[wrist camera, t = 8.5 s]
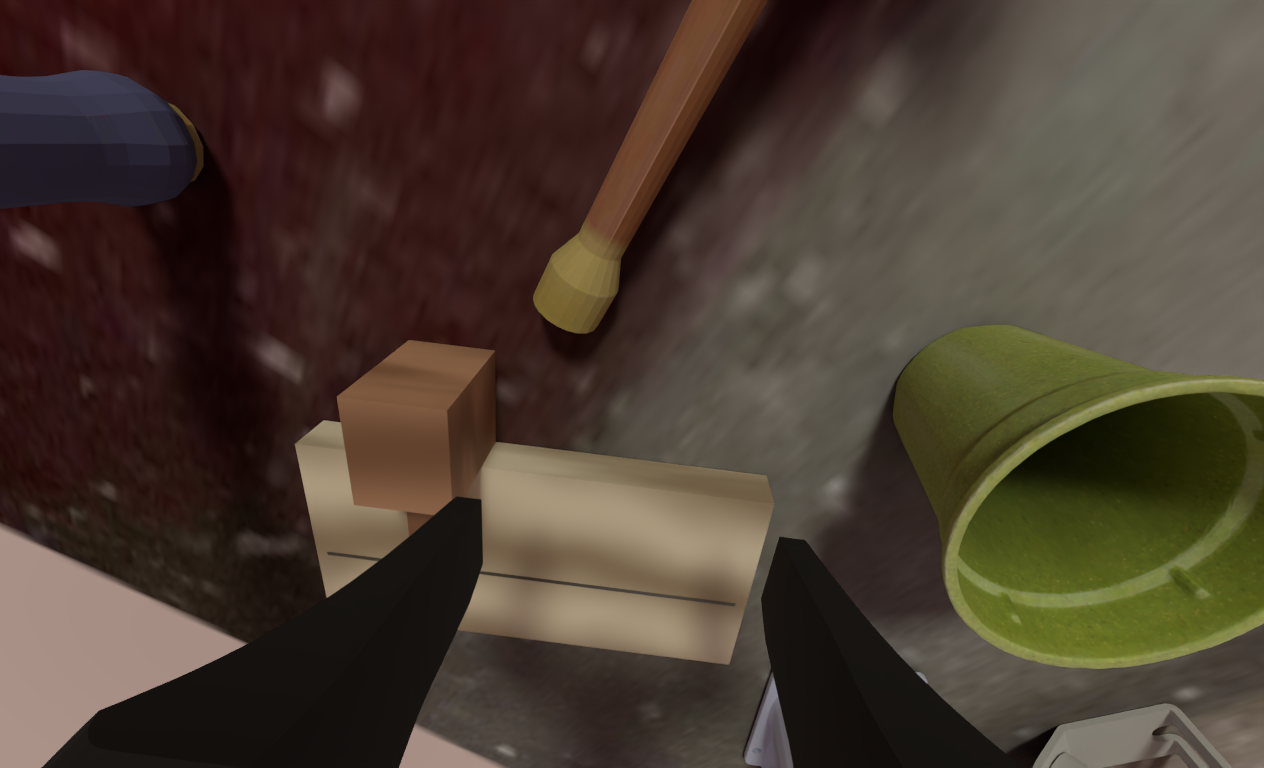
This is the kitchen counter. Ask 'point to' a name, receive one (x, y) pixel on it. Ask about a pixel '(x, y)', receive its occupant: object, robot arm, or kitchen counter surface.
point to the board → (574, 545)
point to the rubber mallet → (92, 142)
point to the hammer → (644, 162)
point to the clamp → (1127, 741)
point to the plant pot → (1088, 497)
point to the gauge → (419, 427)
